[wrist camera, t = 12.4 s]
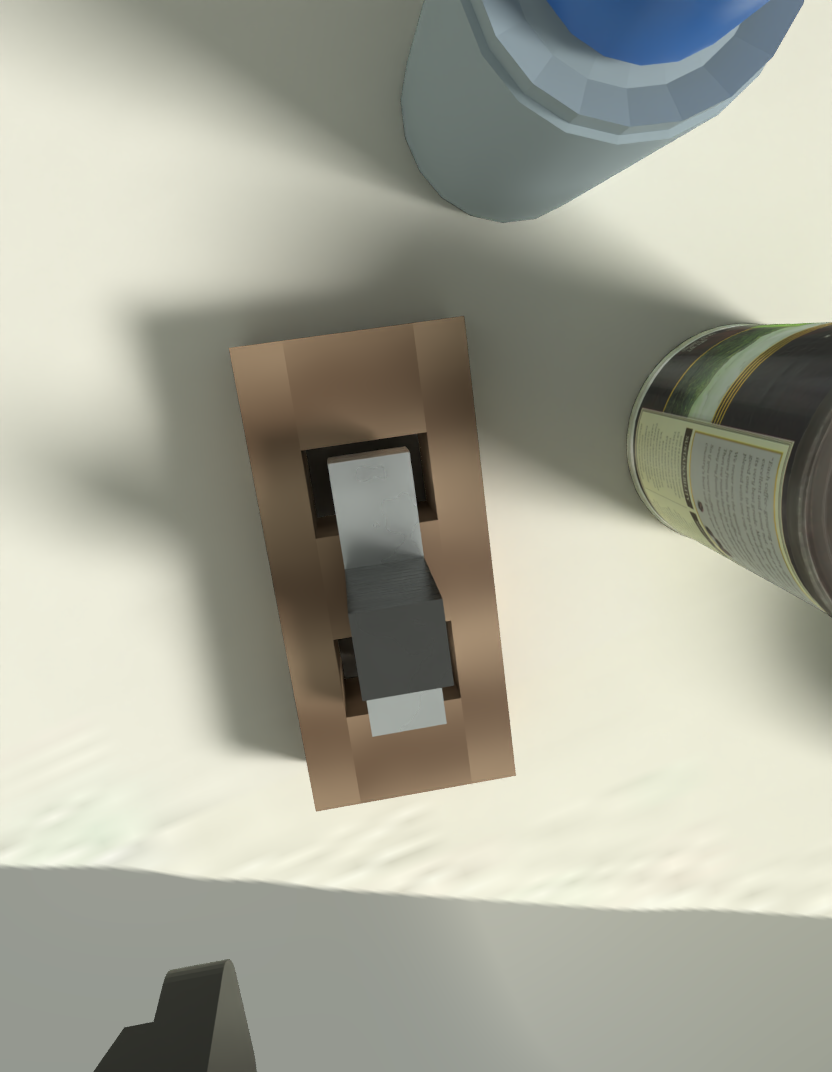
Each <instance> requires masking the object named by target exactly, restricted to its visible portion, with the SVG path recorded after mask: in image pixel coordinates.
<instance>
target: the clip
mask: <svg viewBox="0 0 832 1072" xmlns="http://www.w3.org/2000/svg"><path fill="white" fill-rule="evenodd" d="M328 470H329V476H330V482H331V488H332V494H333V500H334V506H335V513H336V519H337V525H338V531H339V537H340V543H341V549H342V555H343V561H344V567H345V579H346V593H347V607H348V617H349V623H350V629H351V635H352V641H353V647H354V653H355V659H356V665H357V671H358V677H359V683H360V689H361V696H362V701H367V707H368V713H369V719H370V725H371V731H372V737H374V736H380V735H385V734H391V733H397V732H402V731H408V730H414V729H419V728H425V727H431V726H437V725H442V724H447V722H446V714H445V707H444V700H443V692H442V688H443V687H449V686H454V681H453V674H452V666H451V658H450V651H449V643H448V636H447V628H446V621H445V613H444V606H443V599H442V596H441V594H440V592H439V590H438V587H437V585H436V583H435V581H434V578H433V576H432V574H431V571H430V569H429V567H428V565H427V562H426V560H425V558H424V554H423V546H422V539H421V532H420V524H419V517H418V510H417V502H416V495H415V488H414V481H413V473H412V466H411V459H410V452H409V450H408V449H407V448H406V446H403V447H395V448H389V449H382V450H375V451H368V452H362V453H355V454H348V455H342V456H335V457H330V458H328Z"/></svg>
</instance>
